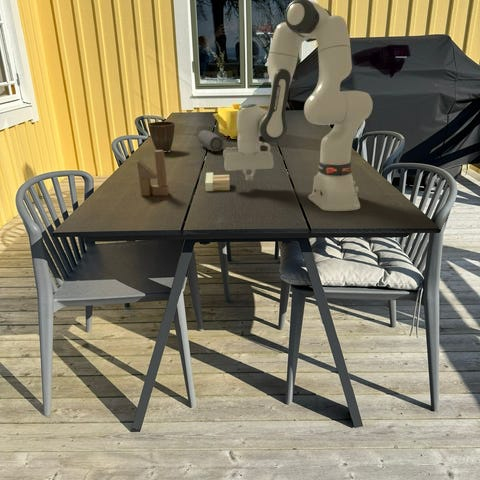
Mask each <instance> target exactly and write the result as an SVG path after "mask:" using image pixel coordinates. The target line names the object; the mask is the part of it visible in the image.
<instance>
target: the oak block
mask: <svg viewBox="0 0 480 480" xmlns="http://www.w3.org/2000/svg"><path fill="white" fill-rule="evenodd" d="M212 181H213V191H230V189H231V188H230V186H231V185H230V184H231V183H230V174H213V180H212Z"/></svg>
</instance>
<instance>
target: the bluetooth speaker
mask: <svg viewBox="0 0 480 480" xmlns="http://www.w3.org/2000/svg"><path fill="white" fill-rule="evenodd" d="M197 140H198V142H199V143H200V144H201V145H202V146H203V147H204V148H205V149H206V148H207V149H206V150H208V151H209V150H211V151H210V152H219V151H221V150H222V149H223V147H224V140H223V139H222V138H221V137H220V136H219V135H218V134H216V133H215V132H213V131H209V130H206V129H205V130H203V129H202V130H200V132H198V136H197Z"/></svg>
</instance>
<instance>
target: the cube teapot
mask: <svg viewBox="0 0 480 480" xmlns="http://www.w3.org/2000/svg"><path fill="white" fill-rule="evenodd" d="M242 106H243V105H240V103H232V106H228V107H226V106H225V107H218V108H217V112H216V113H213V114H212V115H213V117H214V118H215V119H216V121H217V122H218V132H219V133H220V134H222V135H225V136H230V137H229V139H230V138H231V139H236V140H237V137H238V130H237V113H238V110H239V108H241V107H242Z"/></svg>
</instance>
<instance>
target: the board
mask: <svg viewBox="0 0 480 480" xmlns="http://www.w3.org/2000/svg"><path fill="white" fill-rule="evenodd" d="M213 175H214V172H206V173H205V183H204V184H205V185H204V186H205V192H214V190H213V181H212V180H213Z"/></svg>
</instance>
